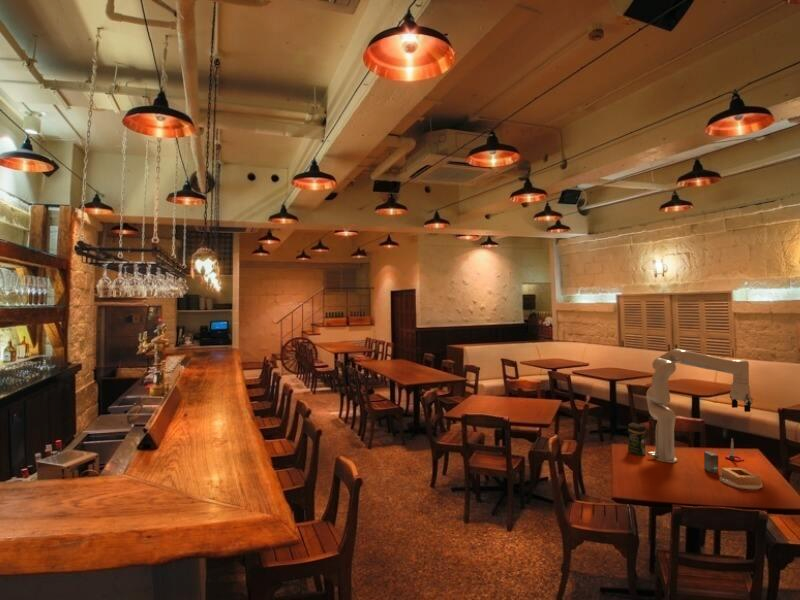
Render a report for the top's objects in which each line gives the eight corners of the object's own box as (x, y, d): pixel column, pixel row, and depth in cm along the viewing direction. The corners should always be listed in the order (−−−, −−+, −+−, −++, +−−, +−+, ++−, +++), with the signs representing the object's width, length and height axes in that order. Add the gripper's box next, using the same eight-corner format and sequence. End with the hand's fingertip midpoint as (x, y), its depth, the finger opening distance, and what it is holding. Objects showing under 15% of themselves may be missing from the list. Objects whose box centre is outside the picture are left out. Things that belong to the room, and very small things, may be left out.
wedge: (710, 473, 252) (710, 455, 251) (704, 469, 257) (704, 451, 257) (718, 473, 251) (718, 455, 251) (711, 469, 257) (711, 451, 257)
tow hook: (730, 456, 279) (723, 458, 274) (731, 435, 279) (723, 436, 274) (746, 460, 272) (739, 462, 267) (747, 438, 272) (739, 440, 267)
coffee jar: (625, 452, 286) (625, 422, 286) (633, 450, 290) (633, 421, 290) (640, 456, 278) (639, 426, 278) (648, 454, 281) (647, 424, 281)
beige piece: (734, 490, 230) (734, 479, 230) (711, 475, 248) (711, 465, 248) (771, 490, 229) (771, 479, 229) (745, 476, 247) (745, 466, 247)
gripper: (724, 378, 278) (724, 406, 278) (746, 383, 261) (746, 413, 261) (736, 378, 278) (736, 405, 279) (758, 383, 261) (758, 413, 261)
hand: (740, 409), depth 270 cm, fingers open, 9 cm apart
